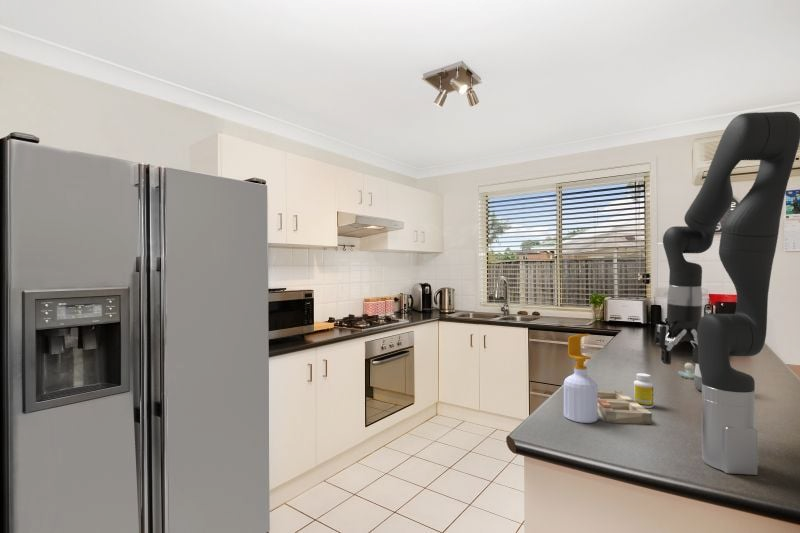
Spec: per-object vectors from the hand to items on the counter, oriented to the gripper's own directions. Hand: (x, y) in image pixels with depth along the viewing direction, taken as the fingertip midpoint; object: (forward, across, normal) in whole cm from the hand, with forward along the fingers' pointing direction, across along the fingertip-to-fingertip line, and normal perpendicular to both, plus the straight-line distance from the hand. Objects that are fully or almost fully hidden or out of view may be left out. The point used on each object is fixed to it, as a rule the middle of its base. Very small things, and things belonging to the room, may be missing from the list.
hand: (681, 363), depth 110 cm
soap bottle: (+19, -21, +12) cm, 31 cm away
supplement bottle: (+20, +4, +20) cm, 29 cm away
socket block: (+19, -8, +17) cm, 27 cm away
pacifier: (+22, +45, +51) cm, 71 cm away
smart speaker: (+21, +37, +32) cm, 53 cm away
